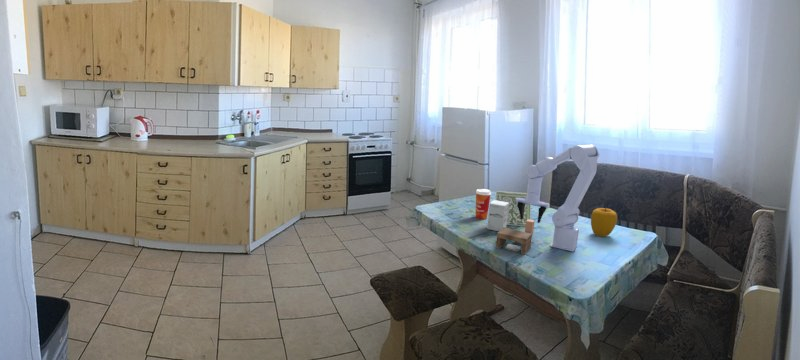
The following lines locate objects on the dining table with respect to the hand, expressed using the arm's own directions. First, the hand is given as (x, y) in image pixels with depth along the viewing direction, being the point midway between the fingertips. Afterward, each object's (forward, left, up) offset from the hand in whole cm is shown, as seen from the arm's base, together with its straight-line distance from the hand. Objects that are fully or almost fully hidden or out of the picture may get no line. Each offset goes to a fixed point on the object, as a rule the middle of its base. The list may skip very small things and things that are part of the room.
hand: (530, 220), depth 203 cm
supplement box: (+14, +4, -6) cm, 16 cm away
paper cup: (+26, -7, -6) cm, 28 cm away
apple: (-28, -18, -6) cm, 34 cm away
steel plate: (0, +23, -7) cm, 24 cm away
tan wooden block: (0, +7, -6) cm, 10 cm away
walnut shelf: (0, +23, -6) cm, 23 cm away
